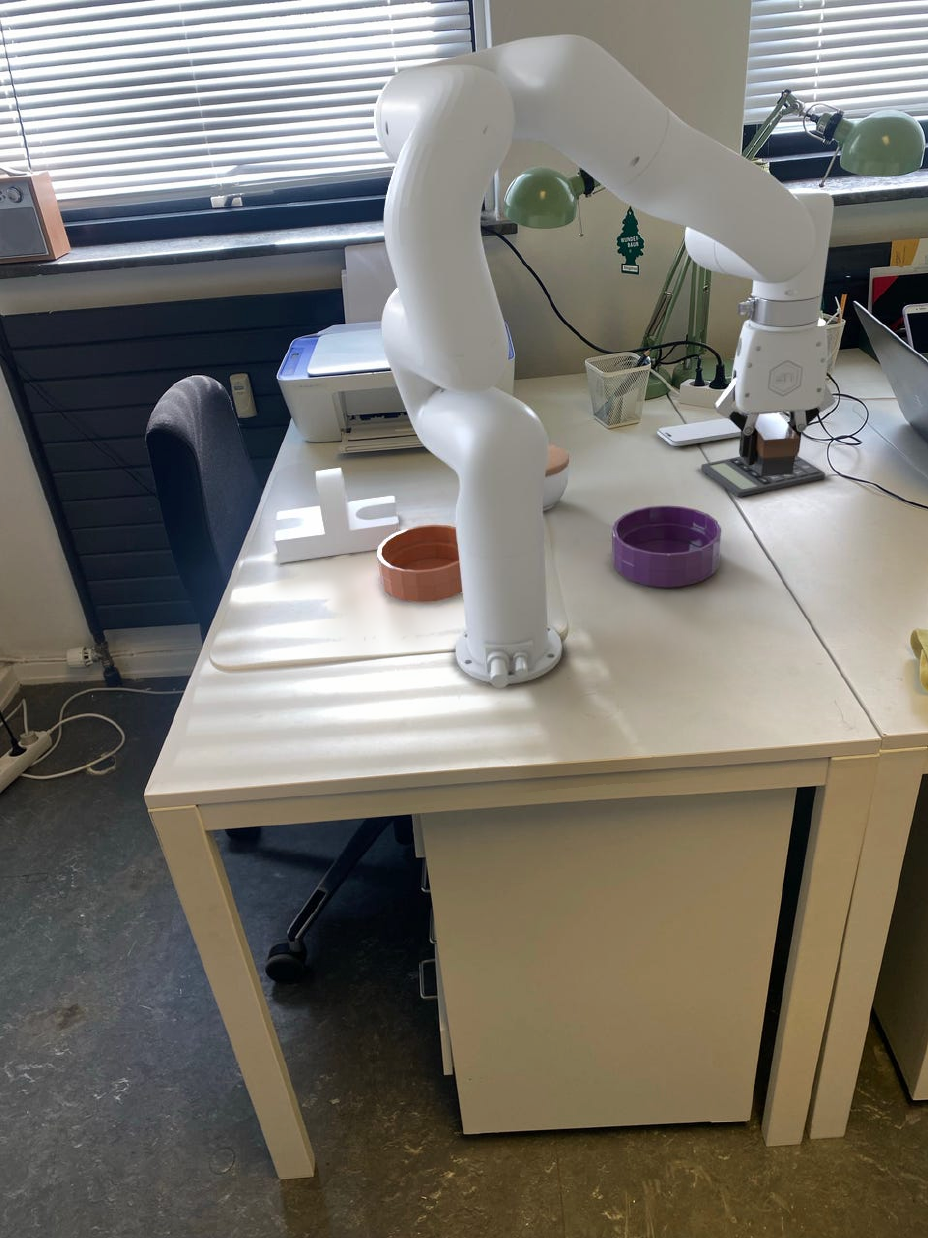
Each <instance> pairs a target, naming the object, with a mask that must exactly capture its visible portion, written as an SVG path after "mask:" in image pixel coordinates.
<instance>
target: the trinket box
mask: <svg viewBox="0 0 928 1238" xmlns="http://www.w3.org/2000/svg"><path fill="white" fill-rule="evenodd" d="M548 447H549V452H548V461H547V468H546V473H545V479H544V488H543V512H545V511H548V510H551V509H552V508H554V506H555V505H556V503H557V502H558V501H560V499H561V498H562V497H563V495H564V493H565V491H566V489H567V485H568V481H569V463H570V455H569V453H568V452H567V451H566V450H565V448H562V447H560V446H557V445H553V444H548Z"/></svg>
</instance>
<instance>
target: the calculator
mask: <svg viewBox="0 0 928 1238" xmlns="http://www.w3.org/2000/svg"><path fill="white" fill-rule="evenodd" d="M700 470H701V471H702V472H704V473H705V474H706V475H708V476H709V477H711V479H713V480H715V481H716V482H717V483H719V484H720V485H721V486H722V487H724V488H725V489H727V490H728V491H729V492H731V493H732V494H733V495H735V496H736V497H739V498H740V497H746V496H750V495H754V494H759V493H764V492H769V491H773V490H777V489H783V488H786V487H791V486H795V485H800V484H801V485H802V484H805V483H810V482H815V481H819V480H823V479H825V478H826V472H824V471H823V470H821V469H820V468H818V467H816V466H815V465H813V464H811V463H810V462H808V461H806V460H805V459H803V458H801V457H799V455H798V456H795V461H794V468H793V474H790V475H775V476H761V475H760V474H759V472H758V471H757V469H756V468H755V467H754V465H752V466H748V465H747V463H746V462H745V460H744V459H743V457H741V456H740V455H739V456H735V457H731V458H726V459H722V460H721V459H720V460H716V461H711V462H707V463H702V464H701V466H700Z"/></svg>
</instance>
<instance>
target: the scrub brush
mask: <svg viewBox="0 0 928 1238" xmlns="http://www.w3.org/2000/svg"><path fill="white" fill-rule="evenodd" d="M788 423H789V422H788V421H786V419H785V418H784V417H783V416H782V414H781V413H780V412H776V413H760V414H759V416H758V419H757V422H756V425H755V428H754V429H755V434H756V435H757V443H756V454H755V463H754V464H753V465H754V467H755V468H756V469H757V471H758V472H759V474H760V475H761V476H775V475H790V474H793V468H794V460H795V456H798V457H799V453H798V449H799V441H800V437H799V436H798V435H797V434H796V433H795V431H794V430H793V429H792V428H791V427H790V425H789V424H788ZM799 450H800V449H799Z"/></svg>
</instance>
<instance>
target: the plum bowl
mask: <svg viewBox="0 0 928 1238" xmlns="http://www.w3.org/2000/svg"><path fill="white" fill-rule="evenodd" d="M722 531H723V529H722V527H721V525H720V523H719V521H718V520H717V519H715V518H714V517H713V516H711V515H710V514H708V513H706V512H704V511H702V510H698V509H696V508H691V507H685V506H682V505H653V506H646V507H642V508H637V509H634V510H631V511H629V512H627V513H624V514H623V515H621V516H620V517H619V518H618V519H617V520H615V521H614V524H613V525H612V529H611V561H612V565H613V569H615V570H616V571H617V573H619V574H620V575H621V576H622V577H624V578H627V579H628V580H630V581H632V582H634V583H638V584H641V585H645V586H649V587H654V588H655V587H656V588H679V587H685V586H689V585H693V584H696V583H700V582H701V581H704V580H706V579H707V578H709V577H711V576H712V575H713V574H714V573H715V572H717V569H719V564H720V556H721V544H722Z"/></svg>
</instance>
